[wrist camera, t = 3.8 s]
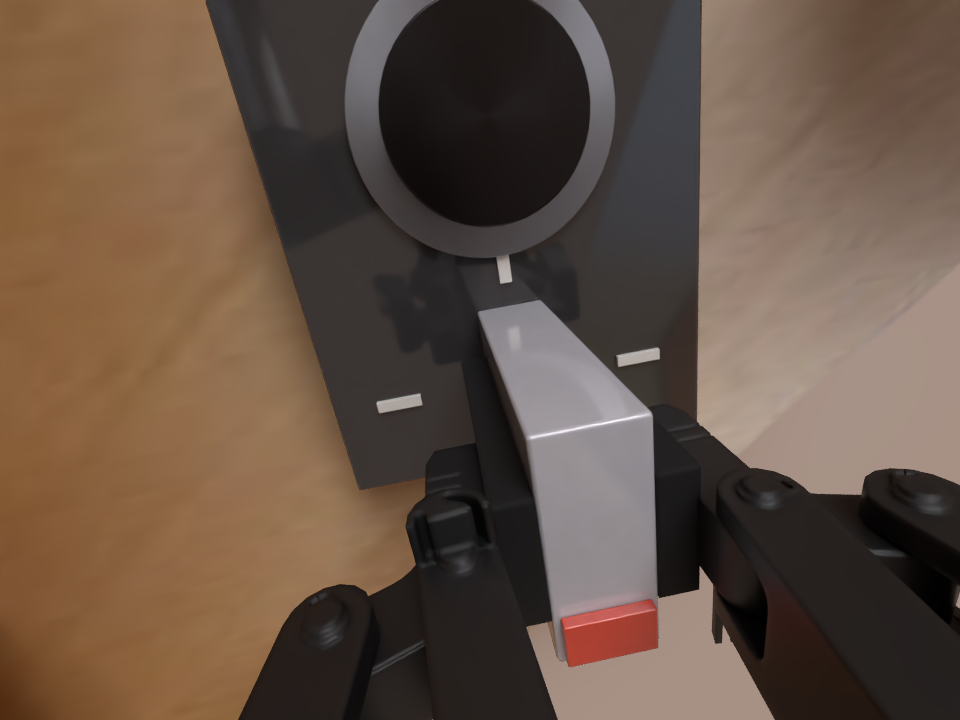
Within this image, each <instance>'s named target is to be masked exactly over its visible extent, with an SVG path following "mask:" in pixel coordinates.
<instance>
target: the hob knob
mask: <svg viewBox="0 0 960 720" xmlns="http://www.w3.org/2000/svg"><path fill="white" fill-rule="evenodd" d="M477 315H478V321H479V327H480V333H481V339H482V345H483V351H484V356H485V358H487V361H488V364H489V367H490V370H491V373H492V376H493V379H494V382H495V385H496V388H497V391H498V393H499V396H500V399H501V402H502V405H503V408H504V411H505V414H506V417H507V420H508V423H509V426H510V429H511V432H512V435H513V438H514V441H515V444H516V447H517V450H518V453H519V456H520V459H521V462H522V465H523V468H524V471H525V473H526V476H527V479H528V482H529V485H530V488H531V491H532V494H533V497H534V499H535V506H536V512H537V519H538V526H539V533H540V540H541V547H542V553H543V560H544V567H545V574H546V581H547V588H548V595H549V601H550V608H551V615H552V621H550V622H547V623H548V627H549V630H550V634H551V637H552V641H553V645H554V649H555V652H556V656H557V658H558V659H559V661H567V663H568V666H569V667H574V666H578V665H583V664H587V663H592V662H596V661H601V660H606V659H610V658H614V657H619V656H624V655H628V654H633V653H637V652H642V651H647V650H651V649H655V648H658V639H659V627H658V626H659V624H658V588H657V552H656V515H655V479H654V443H653V415H652V413H651V411H650V410H649V409H648V408H647V407H646V406H645V405H644V404H643V403H642V402H641V401H640V400H639V399H638V398H637V397H636V396H635V395H634V394H633V393H632V392H631V391H630V390H629V389H628V388H627V387H626V386H625V385H624V384H623V383H622V382H621V381H620V380H619V379H618V378H617V377H616V376H615V375H614V374H613V373H612V372H611V371H610V370H609V369H608V367H607V366H606V365H605V364H604V363H603V362H602V361H601V360H600V359H599V358H598V357H597V356H596V355H595V354H594V353H593V352H592V351H591V350H590V349H589V348H588V347H587V346H586V345H585V344H584V343H583V342H582V341H581V340H580V339H579V338H578V337H577V336H576V335H575V334H574V333H573V332H572V331H571V330H570V329H569V328H568V327H567V326H566V325H565V324H564V323H563V322H562V321H561V320H560V319H559V318H558V317H557V316H556V315H555V314H554V313H553V312H552V311H551V310H550V309H549V308H548V307H547V306H546V305H545V304H544V303H543V302H542V301H541V300H537V301H532V302H526V303H521V304H516V305H510V306H505V307H500V308H494V309H489V310H484V311H479V312H478V314H477Z"/></svg>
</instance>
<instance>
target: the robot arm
mask: <svg viewBox="0 0 960 720" xmlns="http://www.w3.org/2000/svg"><path fill="white" fill-rule="evenodd" d="M461 365H462V371H463V376H464V381H465V387H466V392H467V397H468V403H469V408H470V414H471V419H472V424H473V430H474V435H475V441H476V443H472V444H467V445H462V446H457V447H452V448H447V449H442V450H437V451H434V452H433V454H432V456H431V457H430V459H429V460H428V462H427V464H426V466H425V481H426V483H425V494H426V495H425V498H423V499H422V500H421V501H419V502H418V503H417V504H415V506H414V507H413V509H412V510H411V511H410V513H409V514H408V517H407V522H406V530H407V534H408V537H409V541H410V544H411V548H412V551H413V555H414V559H415V562H416V565H415V567H414V568H413V569H412V570H411V571H410V572H409V573H408V574H407V575H406V576H404V577H403V578H402V579H400V580H399V581H397V582H395V583H394V584H392V585H390V586H388V587H386V588H384V589H382V590H380V591H378V592H376V593H374V594H372V595H370V596H368V595H367V593H366V592H365V591H364V590H362V589H360V588H358V587H357V586H355V585H343V584H339V585H335V586H331V587H328V588H324V589H322V590H320V591H318V592H316V593H315V594H313V595H311V596H309V597H307V598H306V599H305V600H304V601H303V602H302V603H301V604H299V605H298V606H297V607H296V608H295V609H294V610H293V611H292V612H291V614H290V615H289V617H288V618H287V620H286V621H285V623H284V624H283V626H282V628H281V630H280V632H279V634H278V636H277V638H276V641H275V643H274V645H273V647H272V649H271V651H270V653H269V655H268V658H267V660H266V662H265V664H264V666H263V668H262V670H261V672H260V674H259V677H258V679H257V681H256V683H255V685H254V687H253V689H252V691H251V694H250V696H249V698H248V700H247V702H246V704H245V706H244V708H243V711H242V713H241V715H240V717H239V719H238V720H432V719H433V720H558V719H557V717H556V713H555V710H554V708H553V705H552V702H551V699H550V696H549V693H548V690H547V687H546V684H545V681H544V679H543V676H542V673H541V670H540V667H539V664H538V661H537V658H536V655H535V652H534V650H533V646H532V643H531V640H530V638H529V635H528V632H527V629H526V627H527V626H532V625H536V624H541V623H545V622H550V621H552V615H551V608H550V601H549V595H548V588H547V581H546V574H545V567H544V560H543V553H542V547H541V540H540V533H539V526H538V519H537V512H536V506H535V499H534V497H533V494H532V491H531V488H530V485H529V482H528V479H527V476H526V473H525V471H524V468H523V465H522V462H521V459H520V456H519V453H518V450H517V447H516V444H515V441H514V438H513V435H512V432H511V429H510V426H509V423H508V420H507V417H506V414H505V411H504V408H503V405H502V402H501V399H500V396H499V393H498V391H497V388H496V385H495V382H494V379H493V376H492V373H491V370H490V367H489V364H488V361H487V358H482V359H477V360H471V361H466V362H461ZM647 408H648V409H649V410H650V411H651V413H652V415H653V443H654V479H655V515H656V552H657V588H658V596H659V598H662V597H666V596H671V595H676V594H680V593H685V592H690V591H694V590H699V566H700V567H701V568H702V569H703V571H704V572H705V574H706V575H707V576H708V578H709V579H710V581H711V582H712V583H713V615H712V633H713V636H714V640H715V643H716V644H717V643H722V629H723V626H724V627H725V629H726V631H727V633H728V635H729V637H730V640H731V642H733V644H734V646H735V647H736V649H737V651H738V653H739V655H740V657H741V659H742V660H743V662H744V664H745V666H746V668H747V669H748V671H749V673H750V675H751V676H752V679H753V680H754V682H755V684H756V686H757V688H758V690H759V691H760V693H761V695H762V697H763V699H764V701H765V702H766V704H767V706H768V708H769V709H770V711H771V713H772V715H773V717H774V719H775V720H960V608H958V607H957V606H956V603H957V599H958V596H959V593H960V485H958V484H956V483H954V482H951V481H948V480H946V479H943V478H941V477H938V476H936V475H933V474H929V473H924V472H920V471H916V470H910V469H891V468H890V469H883V470H877V471H874V472H872V473H871V474H869V475H867V476H866V477H865V479H864V484H863V489H862V495H841V494H813V493H812V494H811V493H809V492H808V491H807V490H806V489H805V488H804V487H803V486H801V485H800V484H798V483H797V482H796V481H794V480H793V479H791V478H790V477H787V476H784V475H782V474H779V473H777V472H774V471H769V470H763V469H758V468H749V467H748V466H747V465H745V463H743V462H742V461H741V460H740V459H739V458H738V457H737V456H736V455H734V454H733V453H732V452H731V451H730V450H729V449H728V448H726V447H725V446H724V445H723V444H722V443H721V442H720V441H718V440H717V439H716V438H715V437H714V436H711V435H710V433H709V432H708V431H707V430H706V429H705V428H704V427H703V426H700V425H699V423H698V422H697V421H696V420H695V419H693V418H692V417H691V416H690V415H689V414H688V413H687V412H685V411H683V410H680V409H678V408H676V407H673V406H671V405H668V404H661V405H656V406H651V407H647Z"/></svg>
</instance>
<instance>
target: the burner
mask: <svg viewBox="0 0 960 720" xmlns="http://www.w3.org/2000/svg"><path fill="white" fill-rule="evenodd" d="M615 99H616V98H615V88H614V79H613V74H612V69H611V65H610V61H609V57H608V54H607V51H606V48H605V46H604V43H603V40H602V38H601V36H600V34H599V32H598V30H597V28H596V26H595V24H594V22H593V20H592V18H591V17H590V15H589V14H588V12H587V11H586V9H585V8H584V7H583V5H582V4H581V3H580V1H579V0H379V1H378V2H377V3H376V4H375V6H374V7H373V9H372V10H371V12H370V13H369V15H368V17H367V18H366V20H365V21H364V23H363V25H362V27H361V30H360V32H359V34H358V36H357V38H356V40H355V43H354V46H353V49H352V53H351V56H350V59H349V63H348V68H347V74H346V79H345V92H344V113H345V125H346V131H347V136H348V142H349V146H350V149H351V152H352V156H353V159H354V162H355V164H356V167H357V169H358V171H359V174H360V176H361V178H362V180H363V182H364V184H365V185H366V187H367V189H368V191H369V192H370V194H371V196H372V197H373V198H374V200H375V201H376V202H377V204H378V205H379V206H380V208H381V209H382V210H383V211H384V212H385V214H386V215H387V216H388V217H389V218H390V219H391V220H392V221H393V222H394V223H395V224H396V225H398V226H399V227H400V228H401V229H403V230H404V231H405V232H406V233H408V234H409V235H410V236H412V237H414V238H415V239H417V240H419V241H420V242H422V243H424V244H426V245H428V246H430V247H432V248H435V249H437V250H439V251H442V252H446V253H449V254H453V255H457V256H464V257H470V258H491V257H500V256H506V255H510V254H514V253H518V252H520V251H523V250H526V249H528V248H531V247H533V246H535V245H537V244H539V243H540V242H542V241H544V240H546V239H548V238H549V237H550V236H552V235H553V234H555V233H556V232H557V231H559V230H560V229H561V228H562V227H563V226H564V225H566V224H567V223H568V222H569V221H570V220H571V219H572V218H573V217H574V216H575V215H576V213H577V212H578V211H579V210H580V209H581V207H582V206H583V205H584V204H585V202H586V201H587V199H588V198H589V196H590V195H591V193H592V192H593V190H594V188H595V186H596V184H597V182H598V180H599V178H600V176H601V174H602V172H603V169H604V167H605V164H606V161H607V158H608V155H609V151H610V147H611V143H612V139H613V133H614V124H615Z"/></svg>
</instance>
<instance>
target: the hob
mask: <svg viewBox="0 0 960 720" xmlns="http://www.w3.org/2000/svg"><path fill="white" fill-rule="evenodd" d="M378 1H379V0H206V6H207V9H208V12H209V15H210V18H211V21H212V25H213V28H214V31H215V34H216V37H217V40H218V44H219V47H220V50H221V53H222V56H223V59H224V63H225V66H226V69H227V72H228V75H229V79H230V82H231V85H232V88H233V91H234V94H235V98H236V101H237V104H238V107H239V110H240V113H241V117H242V120H243V123H244V126H245V129H246V132H247V136H248V139H249V142H250V145H251V148H252V152H253V155H254V158H255V161H256V164H257V167H258V171H259V174H260V177H261V180H262V183H263V186H264V190H265V193H266V196H267V199H268V202H269V205H270V209H271V212H272V215H273V218H274V221H275V225H276V228H277V231H278V234H279V237H280V240H281V244H282V247H283V250H284V253H285V256H286V259H287V263H288V266H289V269H290V272H291V275H292V278H293V282H294V285H295V288H296V291H297V294H298V298H299V301H300V304H301V307H302V310H303V313H304V317H305V320H306V323H307V326H308V329H309V332H310V336H311V339H312V342H313V345H314V348H315V351H316V355H317V358H318V361H319V364H320V367H321V371H322V374H323V377H324V380H325V383H326V386H327V390H328V393H329V396H330V399H331V402H332V405H333V409H334V412H335V415H336V418H337V421H338V424H339V428H340V431H341V434H342V437H343V440H344V444H345V447H346V450H347V453H348V456H349V459H350V463H351V466H352V469H353V472H354V475H355V478H356V482H357V485H358V488H359V489H360V490H365V489H370V488H375V487H380V486H385V485H390V484H395V483H400V482H404V481H409V480H414V479H419V478H424V477H425V466H426V464H427V462H428V460H429V459H430V457H431V456H432V454H433V452H434V451H437V450H442V449H447V448H452V447H457V446H462V445H467V444H472V443H476V441H475V435H474V430H473V424H472V419H471V414H470V408H469V403H468V397H467V392H466V387H465V381H464V376H463V371H462V365H461V362H466V361H471V360H477V359H482V358H485V356H484V351H483V345H482V339H481V333H480V327H479V321H478V315H477V314H478V312H479V311H484V310H489V309H494V308H500V307H505V306H510V305H516V304H521V303H526V302H532V301H537V300H541V301H542V302H543V303H544V304H545V305H546V306H547V307H548V308H549V309H550V310H551V311H552V312H553V313H554V314H555V315H556V316H557V317H558V318H559V319H560V320H561V321H562V322H563V323H564V324H565V325H566V326H567V327H568V328H569V329H570V330H571V331H572V332H573V333H574V334H575V335H576V336H577V337H578V338H579V339H580V340H581V341H582V342H583V343H584V344H585V345H586V346H587V347H588V348H589V349H590V350H591V351H592V352H593V353H594V354H595V355H596V356H597V357H598V358H599V359H600V360H601V361H602V362H603V363H604V364H605V365H606V366H607V367H608V369H609V370H610V371H611V372H612V373H613V374H614V375H615V376H616V377H617V378H618V379H619V380H620V381H621V382H622V383H623V384H624V385H625V386H626V387H627V388H628V389H629V390H630V391H631V392H632V393H633V394H634V395H635V396H636V397H637V398H638V399H639V400H640V401H641V402H642V403H643V404H644V405H645V406H646V407H651V406H656V405H661V404H668V405H671V406H673V407H676V408H678V409H680V410H683V411H685V412H687V413H688V414H689V415H690V416H691V417H692V418H693V419H695V420H696V421H697V359H698V274H699V189H700V105H701V20H702V0H579V1H580V3H581V4H582V5H583V7H584V8H585V9H586V11H587V12H588V14H589V15H590V17H591V18H592V20H593V22H594V24H595V26H596V28H597V30H598V32H599V34H600V36H601V38H602V40H603V43H604V46H605V48H606V51H607V54H608V57H609V61H610V65H611V69H612V74H613V79H614V88H615V98H616V99H615V124H614V133H613V139H612V143H611V147H610V151H609V155H608V158H607V161H606V164H605V167H604V169H603V172H602V174H601V176H600V178H599V180H598V182H597V184H596V186H595V188H594V190H593V192H592V193H591V195H590V196H589V198H588V199H587V201H586V202H585V204H584V205H583V206H582V207H581V209H580V210H579V211H578V212H577V213H576V215H575V216H574V217H573V218H572V219H571V220H570V221H569V222H568V223H567V224H566V225H564V226H563V227H562V228H561V229H560V230H559V231H557V232H556V233H555V234H553V235H552V236H550V237H549V238H548V239H546V240H544V241H542V242H540V243H539V244H537V245H535V246H533V247H531V248H528V249H526V250H523V251H520V252H518V253H514V254H510V255H506V256H500V257H491V258H470V257H464V256H457V255H453V254H449V253H446V252H442V251H439V250H437V249H435V248H432V247H430V246H428V245H426V244H424V243H422V242H420V241H419V240H417V239H415V238H414V237H412V236H410V235H409V234H408V233H406V232H405V231H404V230H403V229H401V228H400V227H399V226H398V225H396V224H395V223H394V222H393V221H392V220H391V219H390V218H389V217H388V216H387V215H386V214H385V212H384V211H383V210H382V209H381V208H380V206H379V205H378V204H377V202H376V201H375V200H374V198H373V197H372V196H371V194H370V192H369V191H368V189H367V187H366V185H365V184H364V182H363V180H362V178H361V176H360V174H359V171H358V169H357V167H356V164H355V162H354V159H353V156H352V152H351V149H350V146H349V142H348V136H347V131H346V125H345V113H344V92H345V79H346V74H347V68H348V63H349V59H350V56H351V53H352V49H353V46H354V43H355V40H356V38H357V36H358V34H359V32H360V30H361V27H362V25H363V23H364V21H365V20H366V18H367V17H368V15H369V13H370V12H371V10H372V9H373V7H374V6H375V4H376V3H377V2H378Z"/></svg>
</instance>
